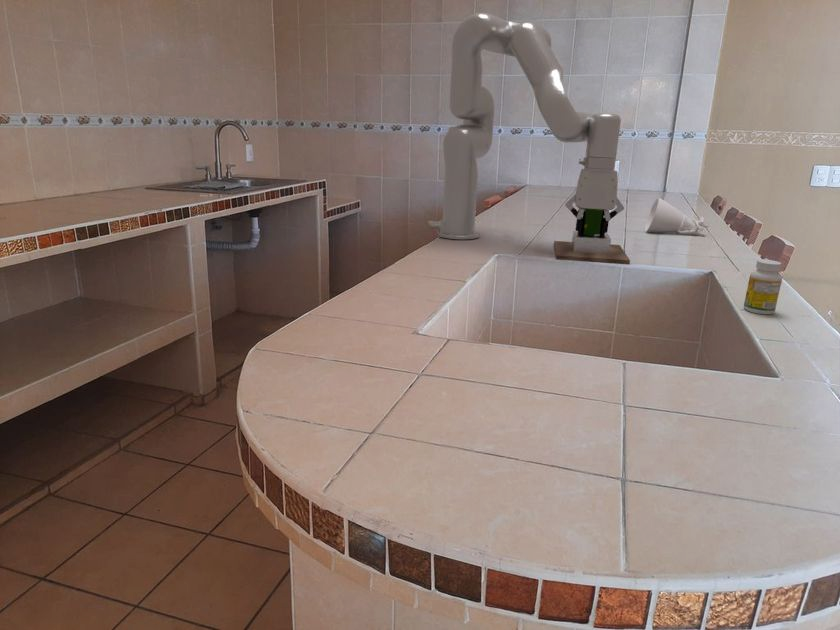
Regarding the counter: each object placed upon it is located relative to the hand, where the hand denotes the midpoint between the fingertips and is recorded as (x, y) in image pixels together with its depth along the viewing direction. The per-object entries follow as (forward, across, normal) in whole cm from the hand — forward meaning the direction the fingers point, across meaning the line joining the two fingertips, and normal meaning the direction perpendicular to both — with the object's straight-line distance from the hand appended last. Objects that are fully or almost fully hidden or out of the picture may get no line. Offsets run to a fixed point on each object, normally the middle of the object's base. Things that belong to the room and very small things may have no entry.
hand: (590, 233), depth 159 cm
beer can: (+3, 0, 0) cm, 3 cm away
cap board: (+5, 0, 0) cm, 5 cm away
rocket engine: (+6, +30, +41) cm, 51 cm away
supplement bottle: (+5, +28, -44) cm, 53 cm away
